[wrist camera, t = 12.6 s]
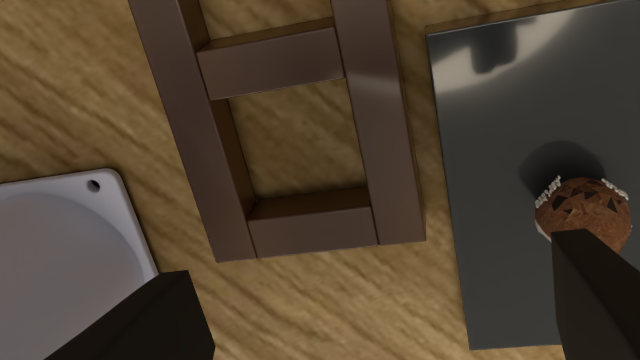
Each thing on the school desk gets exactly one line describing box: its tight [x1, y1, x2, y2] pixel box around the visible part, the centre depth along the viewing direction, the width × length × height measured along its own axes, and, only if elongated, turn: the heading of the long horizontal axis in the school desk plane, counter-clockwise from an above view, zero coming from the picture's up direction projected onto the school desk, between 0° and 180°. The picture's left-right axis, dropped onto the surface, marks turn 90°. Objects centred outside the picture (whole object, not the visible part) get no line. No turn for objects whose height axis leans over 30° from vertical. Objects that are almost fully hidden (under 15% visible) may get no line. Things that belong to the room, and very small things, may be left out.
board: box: [425, 0, 640, 350], centre depth 20 cm, size 8×12×1 cm, turn 12°
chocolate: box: [535, 175, 632, 254], centre depth 17 cm, size 3×2×4 cm
